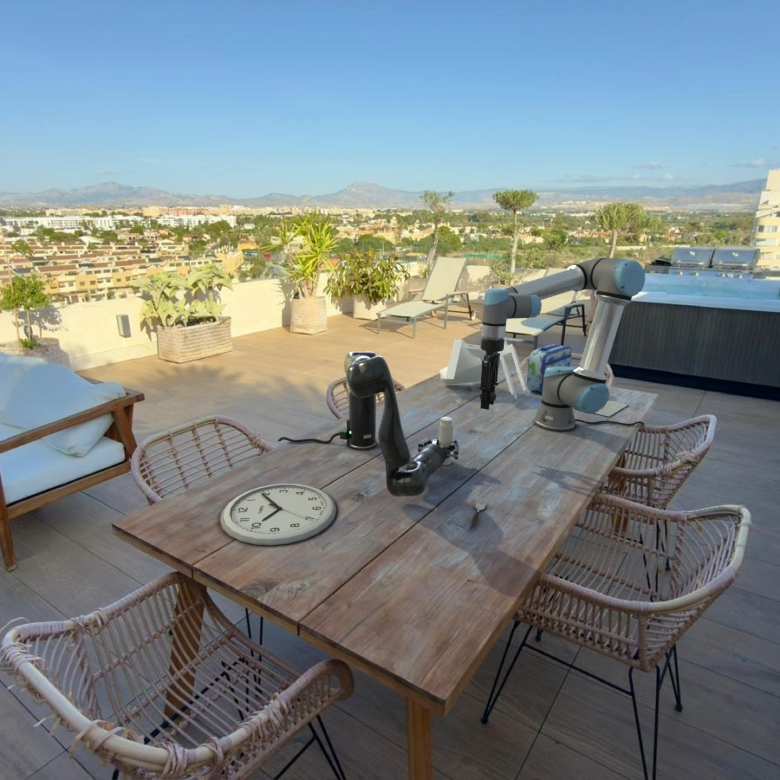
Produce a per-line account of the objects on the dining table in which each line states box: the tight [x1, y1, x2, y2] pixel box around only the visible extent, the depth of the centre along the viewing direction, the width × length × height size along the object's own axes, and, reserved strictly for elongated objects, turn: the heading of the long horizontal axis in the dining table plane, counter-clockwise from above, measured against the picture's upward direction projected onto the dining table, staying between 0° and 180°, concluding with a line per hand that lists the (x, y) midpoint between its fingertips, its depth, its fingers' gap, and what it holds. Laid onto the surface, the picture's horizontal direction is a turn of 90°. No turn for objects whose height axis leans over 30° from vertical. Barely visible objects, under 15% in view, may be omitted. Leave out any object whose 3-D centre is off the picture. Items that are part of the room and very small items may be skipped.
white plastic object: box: [438, 336, 531, 400], centre depth 245 cm, size 37×45×31 cm
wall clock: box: [219, 483, 337, 546], centre depth 138 cm, size 30×2×30 cm
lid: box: [479, 391, 497, 402], centre depth 174 cm, size 5×5×2 cm
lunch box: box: [526, 343, 572, 394], centre depth 247 cm, size 26×11×21 cm, turn 134°
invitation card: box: [595, 399, 629, 418], centre depth 226 cm, size 21×1×15 cm
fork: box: [470, 495, 488, 530], centre depth 138 cm, size 3×16×2 cm, turn 160°
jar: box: [438, 416, 454, 466], centre depth 168 cm, size 4×4×15 cm
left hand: (448, 440), depth 171 cm, fingers closed on jar, 4 cm apart
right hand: (487, 406), depth 175 cm, fingers closed on lid, 5 cm apart
